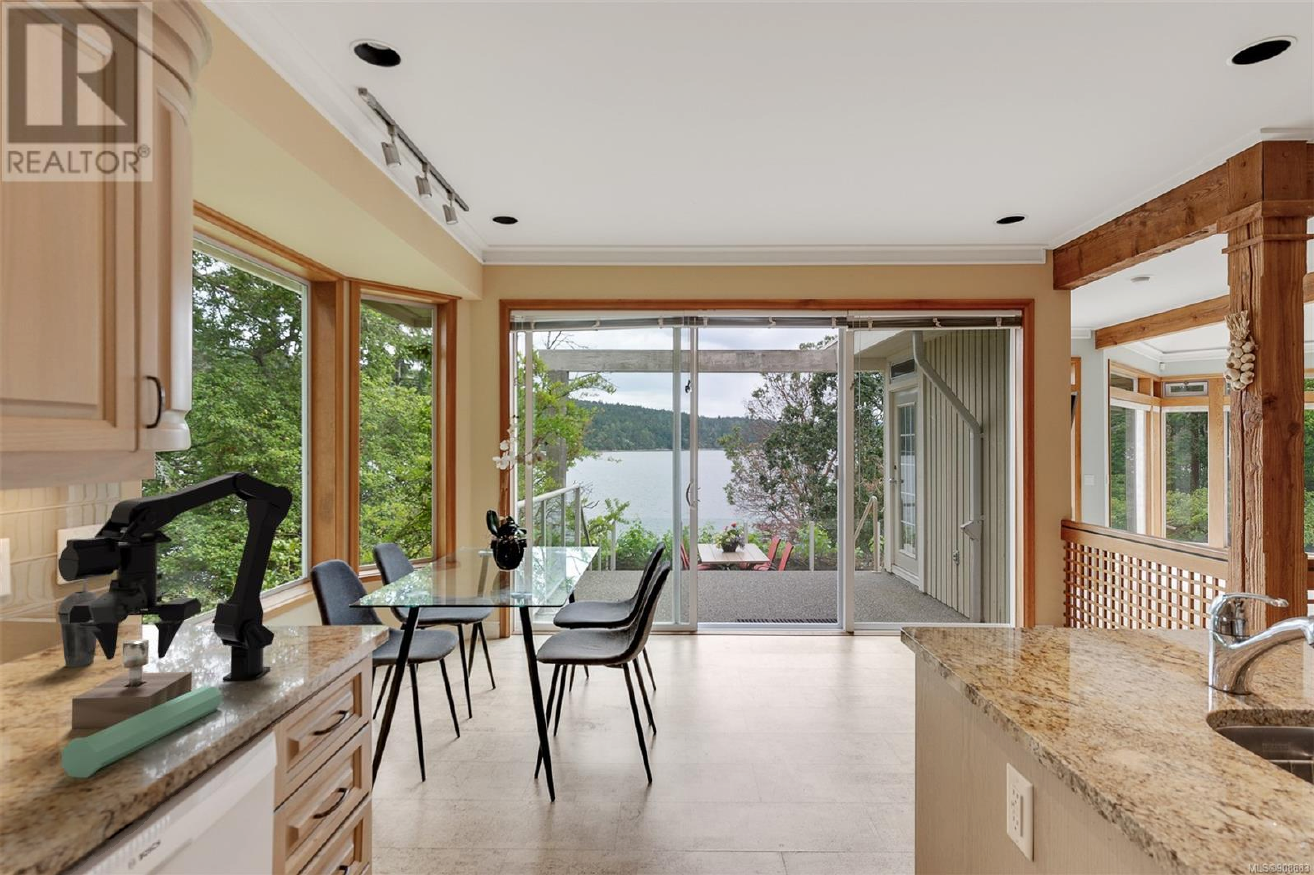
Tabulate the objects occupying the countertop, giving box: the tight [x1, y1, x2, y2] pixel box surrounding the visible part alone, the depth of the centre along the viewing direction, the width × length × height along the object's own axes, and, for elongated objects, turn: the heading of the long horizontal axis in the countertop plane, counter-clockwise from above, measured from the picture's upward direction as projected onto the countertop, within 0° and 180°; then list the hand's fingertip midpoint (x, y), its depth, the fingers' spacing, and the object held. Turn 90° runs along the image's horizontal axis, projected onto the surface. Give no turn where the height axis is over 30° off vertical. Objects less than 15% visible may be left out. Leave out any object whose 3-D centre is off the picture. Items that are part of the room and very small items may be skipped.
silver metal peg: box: [122, 638, 150, 687], centre depth 116 cm, size 4×4×8 cm
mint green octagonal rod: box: [61, 685, 223, 779], centre depth 107 cm, size 6×6×25 cm
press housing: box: [71, 671, 193, 730], centre depth 116 cm, size 12×12×5 cm
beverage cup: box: [57, 579, 100, 668], centre depth 141 cm, size 7×7×20 cm
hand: (136, 658), depth 116 cm, fingers open, 8 cm apart
